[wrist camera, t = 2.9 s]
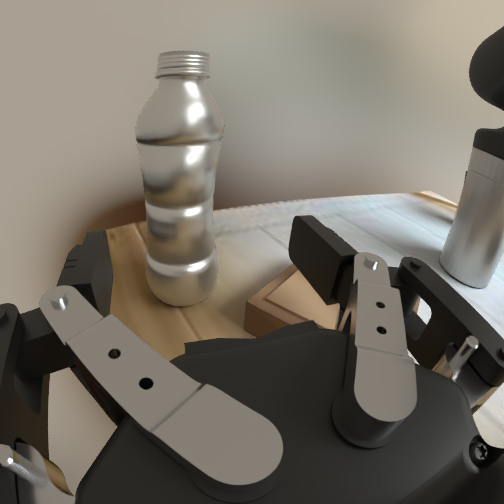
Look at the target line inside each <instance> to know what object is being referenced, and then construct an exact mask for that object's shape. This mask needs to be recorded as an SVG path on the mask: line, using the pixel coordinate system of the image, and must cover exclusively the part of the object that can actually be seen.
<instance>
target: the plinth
mask: <svg viewBox="0 0 504 504" xmlns="http://www.w3.org/2000/svg"><path fill="white" fill-rule="evenodd" d="M420 298H421V297H420V296H419V298H418V300H417V303H416V305H415V307H414V309H413V310H414V312H415V313H416V314H417V310H418V306H419V302H420ZM339 305H340V304H339V303H337V304H333V305H328V306H327V305H326V304H325V303H324V301H323V300H322V299H321V298H320V296H319V295H318V294H317V292H316V291H315V290H314V289H313V287H312V286H311V285H310V284H309V282H308V281H307V280H306V279H305V277H304V276H303V275H302V274H301V272H300V271H299V270H298V268H297V267H296V266H295V265H294V264H292V265H291V266H290V267H289V268H287V269H286V270H285V271H284V272H282V273H281V274H280V275H279V276H277V277H276V278H275V279H274V280H273V281H271V282H270V283H269V284H268V285H266V286H265V287H264V288H263V289H261V290H260V291H259V292H257V293H256V294H255V295H254V296H252V297H251V298H250V299H249V300H247V301H246V312H245V323H244V330H246V331H247V332H249V333H251V334H252V335H254V336H256V337H258V338H259V337H261V336H264V335H266V334H268V333H271V332H273V331H275V330H277V329H279V328H282V327H284V326H287V325H292V324H296V323H301V322H305V321H310V320H314V321H315V323H316V324H317V326H318V327H319V328H325V329H333V330H335V324H336V317H337V311H338V308H339Z"/></svg>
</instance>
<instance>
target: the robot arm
mask: <svg viewBox="0 0 504 504" xmlns="http://www.w3.org/2000/svg"><path fill="white" fill-rule="evenodd" d="M469 77H470V82H471V85H472V87H473V89H474V90H475V92H476V93H477V94H478V95H479V96H480V97H481V98H482V99H484V100H485V101H487V102H488V103H490V104H492V105H494V106H496V107H498V108H500V109H502V110H503V111H504V26H503V27H502V28H501V29H499V30H498V31H497V32H495V33H494V34H492V35H491V36H489V37H488V38H487V39H485V40H484V41H483V42H482V44H480V45H479V47H478V48H477V50H476V51H475V53H474V55H473V57H472V60H471V63H470V68H469ZM503 251H504V127H502V128H499V129H484V128H483V129H482V128H481V129H478V130H477V131H476V133H475V137H474V142H473V148H472V153H471V158H470V162H469V166H468V171H467V175H466V179H465V183H464V186H463V190H462V194H461V197H460V201H459V204H458V207H457V210H456V213H455V217H454V220H453V223H452V226H451V228H450V231H449V234H448V237H447V239H446V242H445V245H444V247H443V250H442V253H441V255H440V259H439V260H440V263H441V265H442V266H443V268H444V269H445V270H446V271H447V272H448V273H449V274H450V275H452V276H453V277H454V278H456V279H457V280H459V281H461V282H463V283H465V284H467V285H469V286H472V287H476V288H484V287H486V286H487V285H488V284H489V282H490V279H491V277H492V275H493V273H494V271H495V269H496V267H497V265H498V262H499V260H500V258H501V256H502V253H503ZM289 257H290V259H291V261H292V262H293V263H294V265H295V266H296V267H297V268H298V270H299V271H300V272H301V274H302V275H303V276H304V277H305V279H306V280H307V281H308V282H309V284H310V285H311V286H312V287H313V289H314V290H315V291H316V292H317V294H318V295H319V296H320V298H321V299H322V300H323V301H324V303H325V304H326V305H327V306H328V305H333V304H337V303H339V304H340V305H339V308H338V311H337V317H336V324H335V330H333V329H325V328H319V327H318V326H317V324H316V323H315V321H314V320H310V321H305V322H301V323H296V324H292V325H287V326H284V327H282V328H279V329H277V330H275V331H273V332H271V333H268V334H266V335H264V336H261V337H259V338H255V339H236V338H216V339H209V340H203V341H196V342H189V343H184V345H185V353H186V354H183V355H180V356H178V357H176V358H174V359H172V360H171V361H168V360H166V359H165V358H164V357H163V356H161V355H160V354H159V353H157V352H156V351H155V350H154V349H152V348H151V347H150V346H149V345H148V344H146V343H145V342H144V341H143V340H142V339H140V338H139V337H138V336H137V335H136V334H134V333H133V332H132V331H131V330H130V329H129V328H128V327H126V326H125V325H124V324H123V323H122V322H121V321H120V320H119V319H117V318H116V317H115V316H114V315H112V314H110V302H111V292H112V283H113V269H112V262H111V257H110V252H109V246H108V240H107V235H106V231H105V230H101V231H92V232H87V234H86V237H85V240H84V242H83V245H77V246H75V247H74V248H73V249H72V250H71V251H70V252H69V254H68V256H67V259H66V262H65V264H64V268H63V269H62V272H61V275H60V278H59V280H58V284H57V286H56V287H55V288H53V289H50V290H49V291H47V292H46V293H45V294H44V295H43V296H42V298H41V300H40V303H39V304H40V305H39V306H40V307H39V308H37V309H34V310H32V311H28V312H26V313H22V314H20V313H19V311H18V309H17V307H16V306H15V305H14V304H10V303H6V304H1V305H0V504H504V449H503V448H496V447H493V446H490V445H488V444H487V443H486V442H485V441H484V440H483V438H482V437H481V435H480V433H479V431H478V429H477V427H476V424H475V422H474V419H473V416H472V415H473V414H474V413H475V412H476V411H477V410H478V409H479V408H480V407H481V406H482V405H483V404H484V403H485V402H486V401H487V400H488V399H489V398H490V397H491V396H492V395H493V393H494V392H495V391H496V390H497V389H498V388H499V387H500V386H501V385H502V383H503V382H504V339H503V338H502V337H501V336H500V335H499V334H498V333H497V332H496V331H495V329H494V328H493V327H492V326H491V325H490V324H489V323H488V322H487V321H486V320H485V319H484V318H483V317H482V316H481V315H480V314H479V313H478V312H477V311H476V310H475V309H474V308H473V307H472V306H471V305H470V304H469V303H468V302H467V301H466V300H465V299H464V298H463V297H462V296H461V295H460V294H459V293H458V292H457V291H455V290H454V289H453V288H452V287H451V286H450V285H449V284H448V283H447V282H446V281H445V280H444V279H442V278H441V277H440V276H439V275H438V274H437V273H436V272H435V271H434V270H432V269H431V268H430V267H429V266H428V265H427V264H425V263H424V262H423V261H421V260H419V259H416V258H413V257H404V258H402V260H401V263H400V266H399V268H398V267H388V266H387V263H386V262H385V261H384V260H383V259H382V258H380V257H379V256H377V255H374V254H371V253H358V252H357V251H356V250H355V249H353V248H352V247H351V246H350V245H349V244H348V243H347V242H345V241H344V240H343V239H342V238H341V237H339V235H337V234H336V233H335V232H334V231H333V230H331V229H329V228H327V227H325V226H324V225H323V224H322V223H321V222H319V221H318V220H317V219H316V218H315V217H313V216H312V215H307V216H295V217H294V219H293V223H292V229H291V236H290V242H289ZM419 296H420V297H421V298H422V299H423V300H424V301H425V302H426V303H427V304H428V305H429V306H430V308H431V312H432V314H431V318H430V320H429V322H428V324H427V325H426V324H425V323H424V322H423V320H422V319H421V318H420V317H419V316H418V315H417V314H416V313H415V312H414V310H413V309H414V307H415V305H416V303H417V300H418V298H419ZM407 349H408V350H409V351H410V353H411V354H412V355H413V357H414V358H415V359H416V360H417V362H418V363H419V364H420V365H418V364H416V363H414V360H413V358H412V357H409V356H408V352H407ZM68 367H70V369H71V370H72V372H73V373H74V374H75V376H76V377H77V378H78V379H79V381H80V382H81V383H82V384H83V386H84V387H85V388H86V389H87V390H88V392H89V393H90V394H91V395H92V397H93V398H94V399H95V400H96V401H97V403H98V404H99V405H100V406H101V408H102V409H103V410H104V412H105V413H106V414H107V415H108V417H109V418H110V419H111V420H112V421H113V422H114V423H115V424H116V425H117V426H118V427H117V429H116V430H115V432H114V433H113V434H112V436H111V437H110V439H109V440H108V442H107V443H106V445H105V446H104V448H103V449H102V450H101V452H100V453H99V455H98V456H97V458H96V459H95V461H94V462H93V464H92V465H91V467H90V468H89V470H88V471H87V472H86V474H85V475H84V477H83V478H82V480H81V482H80V483H79V485H78V488H77V491H76V495H75V496H74V495H73V494H72V493H71V492H70V490H69V489H68V487H67V484H66V481H65V477H64V475H63V473H62V471H61V470H60V468H59V467H58V466H57V465H55V464H54V463H53V462H52V461H50V460H49V449H48V395H49V380H50V373H53V372H56V371H59V370H62V369H65V368H68Z"/></svg>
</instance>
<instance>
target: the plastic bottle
mask: <svg viewBox="0 0 504 504" xmlns="http://www.w3.org/2000/svg"><path fill="white" fill-rule="evenodd" d="M209 63H210V55H209V54H208V53H204V52H198V51H172V52H165V53H161V54H159V57H158V66H157V72H156V74H155V78H156V79H159V85H158V88H157V89H156V90H155V92H154V93H153V94H152V96H151V97H150V98H149V100H148V101H147V102H146V104H145V105H144V107H143V109H142V110H141V112H140V114H139V115H138V119H137V122H136V126H135V134H136V141H137V149H138V155H139V160H140V166H141V172H142V177H143V187H144V196H145V198H146V201H145V204H146V211H147V252H146V278H147V281H148V283H149V286H150V289H151V291H152V292H153V294H154V295H155V296H156V297H158V298H159V299H160V300H161V301H163V302H164V303H166V304H169V305H173V306H190V305H194V304H197V303H199V302H201V301H203V300H204V299H206V298H207V297H208V296H209V295H210V293H211V292H212V291H213V290H214V288H215V286H216V283H217V279H218V274H219V262H218V254H217V250H216V246H215V238H214V223H213V199H214V198H213V194H214V188H215V187H214V186H215V176H216V169H217V164H218V159H219V154H220V148H221V143H222V141H221V139H222V138H223V131H224V122H223V117H222V113H221V111H220V109H219V107H218V106H217V104H216V102H215V100H214V99H213V97H212V96H211V94H210V93H209V91H208V90H207V88H206V87H205V79H208V78H209V77H210V72H209Z"/></svg>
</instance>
